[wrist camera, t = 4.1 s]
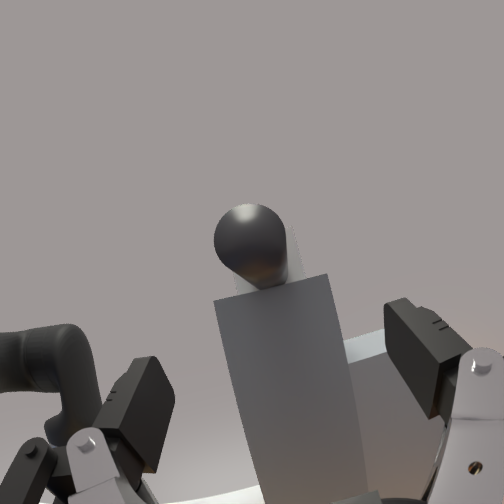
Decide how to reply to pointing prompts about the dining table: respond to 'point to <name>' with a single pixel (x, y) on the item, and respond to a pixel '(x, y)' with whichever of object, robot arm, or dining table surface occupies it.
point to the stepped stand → (321, 400)
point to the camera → (257, 248)
